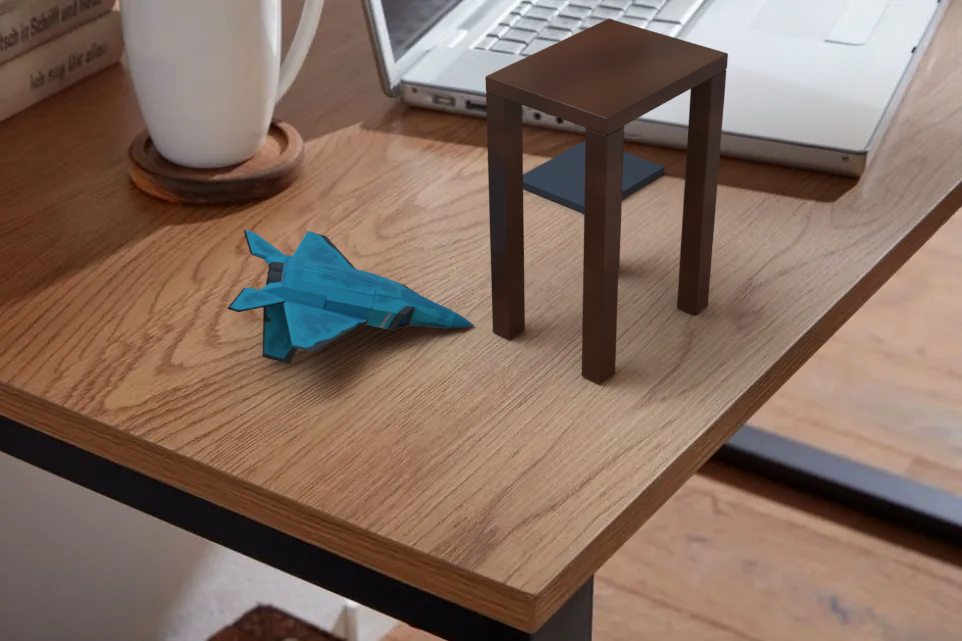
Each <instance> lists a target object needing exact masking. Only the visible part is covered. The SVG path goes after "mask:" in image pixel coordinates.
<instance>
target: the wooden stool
mask: <svg viewBox="0 0 962 641" xmlns="http://www.w3.org/2000/svg"><path fill="white" fill-rule="evenodd" d="M728 59H729V53H728V52H724V51H721V50H718V49H714V48H711V47H707V46H704V45H701V44H698V43H694V42H690V41H687V40H685V39H680V38H677V37H674V36H671V35H667V34H663V33H660V32H658V31H657V32H656V31H653V30H649V29H646V28H643V27H639V26H636V25H633V24H630V23H625V22H622V21H619V20H616V19H612V18H607V19H604V20H603V21H600V22H598V23H596V24H594V25H592V26H590V27H588V28H585V29H583V30H581V31H579V32H577V33H574V34H572V35H571V36H569V37H566V38H564V39H562V40H560V41H558V42H555V43H553V44H551V45H549V46H547V47H545V48H543V49H540V50H539V51H536V52H533V53H532V54H530V55H528V56H526V57H524V58H522V59H519V60H517V61H515V62H513V63H511V64H509V65H507V66H504V67H502V68H500V69H498V70H496V71H494V72H492V73H489V74H487V75H486V76H485V78H484V79H485V110H486V113H485V114H486V144H487V146H486V147H487V177H488V179H487V181H488V183H487V184H488V214H489V215H488V216H489V217H488V218H489V244H490V245H489V246H490V248H489V249H490V250H489V251H490V274H491V275H490V280H491V282H490V283H491V284H490V286H491V287H490V288H491V314H492V315H491V316H492V317H491V318H492V319H491V320H492V321H491V322H492V332H493V333H495V334H497V335H498V336H500V337H502V338H504V339H506V340H509V341H511V340H513V339H514V338H515V337H517V336H519V335H521V334H522V333H524V332H525V330H526V311H525V310H526V307H525V306H526V304H525V303H526V302H525V301H526V298H525V296H526V294H525V291H526V290H525V237H524V236H525V227H524V226H525V225H524V224H525V221H524V220H525V219H524V218H525V217H524V216H525V214H524V189H523V174H524V156H523V155H524V149H523V148H524V145H523V144H524V143H523V142H524V141H523V140H524V139H523V135H524V134H523V107H526V108H529V109H533V110H535V111H538V112H541V113H543V114H546V115H549V116H552V117H554V118H557V119H560V120H563V121H566V122H569V123H572V124H575V125H577V126H580V127H583V128H585V137H584V139H585V140H584V141H585V197H584V213H583V259H582V260H583V263H582V264H583V266H582V318H581V319H582V321H581V322H582V326H581V330H582V331H581V376H582V377H583V378H585V379H587V380H589V381H592V382H594V383H595V384H598V385H602V384H603V383H605V382H606V381H608V380H609V379H611V378H612V377H613V376H615V375H616V361H617V360H616V358H617V332H618V331H617V328H618V302H619V301H618V300H619V274H620V273H619V270H620V262H621V236H622V234H621V233H622V208H623V207H622V205H623V204H622V203H623V199H622V179H623V152H624V148H625V147H624V145H625V126H627V125H628V124H630V123H631V122H634V121H635V120H637V119H639V118H641V117H643V116H644V115H646V114H648V113H650V112H651V111H653V110H655V109H657V108H659V107H660V106H662V105H665V104H666V103H668V102H670V101H671V100H673V99H675V98H677V97H678V96H680V95H682V94H684V93H686V92H688V91H690V95H689V110H688V123H687V124H688V125H687V126H688V127H687V143H686V155H685V156H686V157H685V171H684V172H685V174H684V188H683V204H682V217H681V218H682V221H681V235H680V252H679V267H678V268H679V269H678V283H677V298H676V308H677V309H678V310H681V311H683V312H686V313H687V314H690V315H693V316H697V315H698V314H700V313H701V312H702V311H704V310H706V309H707V308H708V306H709V298H710V286H711V285H710V283H711V271H712V262H713V259H712V258H713V248H714V235H715V234H714V233H715V222H716V211H717V210H716V208H717V196H718V184H719V170H720V157H721V145H722V135H723V134H722V132H723V120H724V108H725V105H724V104H725V96H726V95H725V94H726V82H727V69H728V62H729V61H728Z"/></svg>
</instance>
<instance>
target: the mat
mask: <svg viewBox="0 0 962 641" xmlns="http://www.w3.org/2000/svg"><path fill="white" fill-rule="evenodd" d="M665 168H666V167H665V166H664V165H661V164H659V163H655V162H653V161H650V160H649V159H645V158H642V157H640V156H637V155H634V154H632V153H629V152H625V151H623V179H622V200H623V199H624V198H626V197H628V196H630V195H631V194H632V193H634V192H636V191H637V190H639V189H641V188H642V187H645V186H646V185H648V184H649V183H651V182H653V181H654V180H656V179H657V178H660V177H661V176H662V175H664V174H665ZM523 190H526V191H528V192H530V193H532V194H536V195H538V196H540V197H543V198H545V199H548V200H550V201H553V202H556V203H558V204H560V205H563V206H565V207H568V208H570V209H573V210H575V211H577V212H580V213H582V214H584V197H585V140H583V141H582V142H580V143H578V144H576V145H574V146H572V147H571V148H569V149H567V150H565V151H563V152H562V153H560V154H557V155H556V156H554V157H552V158H550V159H549V160H547V161H545V162H543V163H541V164H540V165H538V166H536V167H534V168H532V169H530V170H529V171H526V172H525V173H523Z"/></svg>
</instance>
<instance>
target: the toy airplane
mask: <svg viewBox="0 0 962 641" xmlns="http://www.w3.org/2000/svg"><path fill="white" fill-rule="evenodd" d="M242 231H243V233H244V237H245V240H246V244H247V247H248V250H249V253H250V255H252V256H253V257H255V258H259V259H262V260H264V263H265V264H268V270H267V276H266V281H265V285H264V286H263V287H261V288H260V289H257V288H253V287H249V286H246V287H243V288H242V289H241V291H240V292H239V293H238V294H237V295H236V296H235V298H234V299H233V300H232V302H231V303H230V304H229V305H228V306H227V307H226V309H228V310H229V311H233V312H237V313H243V312H247V311H251V310H257V309H262V310H263V312H262V358H265V359H269V360H272V361H275V362H280V363H285V364H288V365H289V364H290V363H291V362H292V360H293V359H294V356H295V355H296V353H297V352H298V350H300V351H305V352H309V353H311V354H314V353H317V352H318V351H320V350H322V349H323V348H325V347H327V346H328V345H330V344H332V343H334V342H336V341H337V340H339V339H341V338H343V337H345V336H347V335H349V334H351V333H352V332H355V331H357V330H358V329H360V328H363V327H364V326H371V327H374V328H380V329H385V330H389V331H394V332H395V331H397V330H399V329H403V328H406V327H409V326H415V327H427V328H436V329H461V328H463V329H464V328H471V327H475V324H473V323H472V322H470V321H469V320H468V319H467V318H465V317H464V316H463V315H461V314H459V313H457V312H456V311H454V310H452V309H451V308H448V307H447V306H444V305H442V304H439V303H437V302H435V301H433V300H431V299H429V298H428V297H425V296H423V295H421V294H420V293H418V292H417V291H415V290H413V289H411V287H409V286H407V285H406V284H403V283H401V282H398V281H395V280H392V279H390V278H387V277H384V276H382V275H379V274H376V273H372V272H368V271H365V270H360V269H357V268H356V267H355V266H354V265H353V264H352V262H350V261H349V259H348V258H347V257H346V256H345V255H344V254H343V253H342V251H341V250H340V249H339V248H338V247H337V246H336V245H335V244H334V243H333V242H332V240H331V239H330V238H329V237H328V236H327V235H323V234H320V233H316V232H313V231H311V230H310V231H309V230H307V232H306V233H305V234H304V236H303V238H302V239H301V241H300V243H299V244H298V246H297V248H296V249H295V251H294V252H293V254H292V255H289V254H285V253H283V252H282V251H280V250H279V249H278V248H276V247H275V246H273V244H271V243H270V242H268V241H267V240H266V239H265V238H263V237H261V236H260V235H259V234H258V233H256V232H254V231H251V230H248V229H247V230H246V229H243V230H242Z"/></svg>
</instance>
